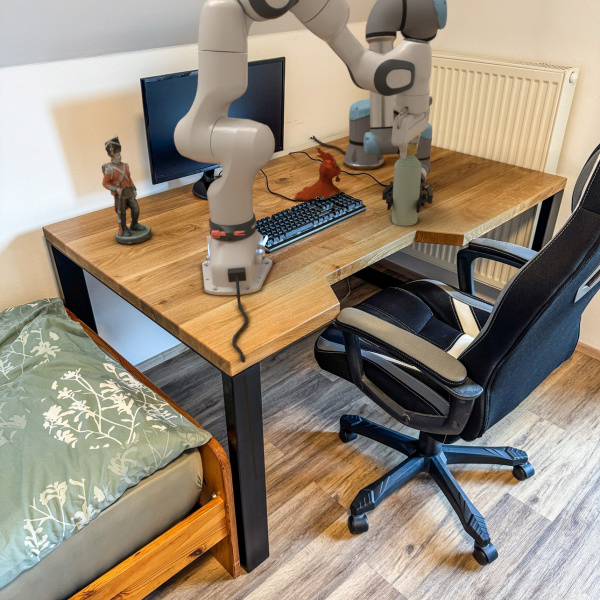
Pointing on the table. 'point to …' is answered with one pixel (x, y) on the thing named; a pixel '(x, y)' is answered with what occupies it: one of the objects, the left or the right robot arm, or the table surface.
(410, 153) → the cap
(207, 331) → the table surface
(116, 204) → the figurine
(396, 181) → the bottle
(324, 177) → the toy
